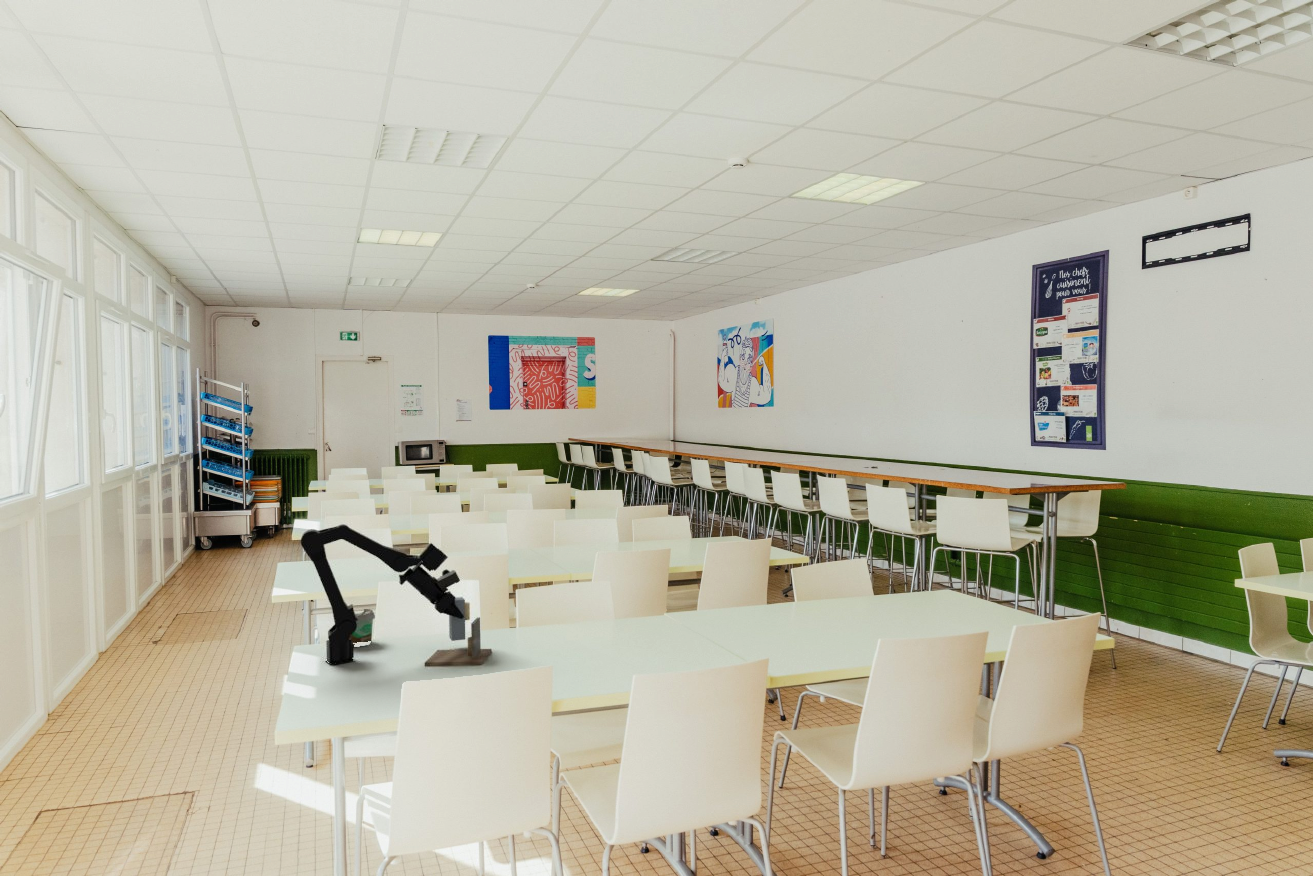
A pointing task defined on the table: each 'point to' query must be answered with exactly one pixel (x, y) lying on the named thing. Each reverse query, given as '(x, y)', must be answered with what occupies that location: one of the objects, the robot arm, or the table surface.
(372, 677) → the table surface
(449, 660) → the hinge jig
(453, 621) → the loose hinge leaf
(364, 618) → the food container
